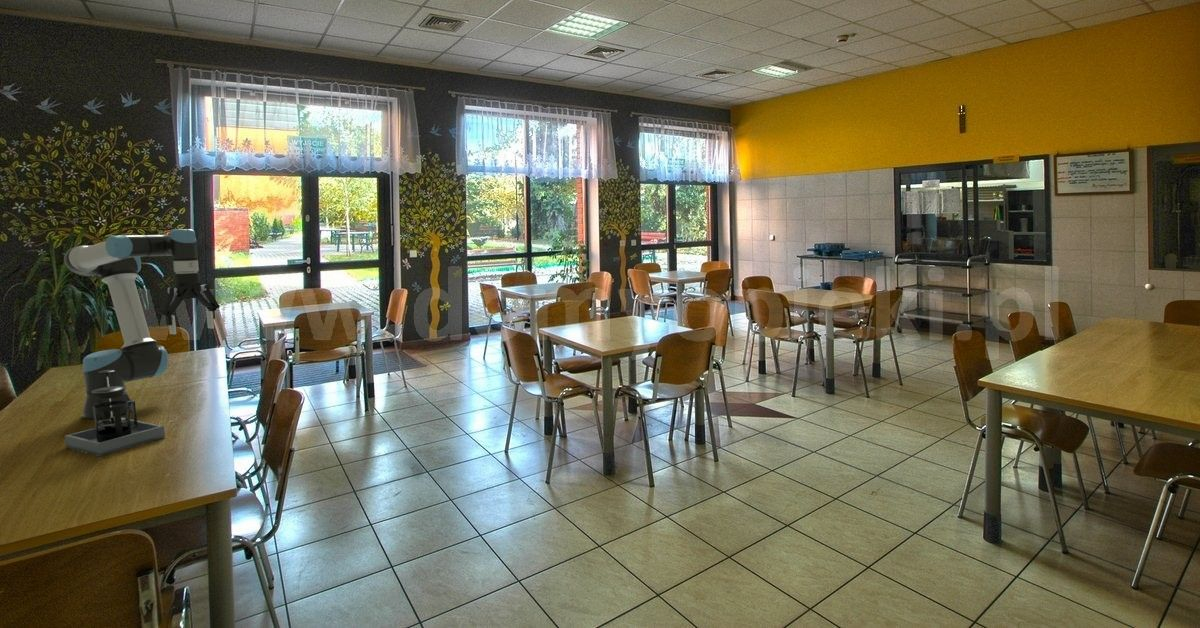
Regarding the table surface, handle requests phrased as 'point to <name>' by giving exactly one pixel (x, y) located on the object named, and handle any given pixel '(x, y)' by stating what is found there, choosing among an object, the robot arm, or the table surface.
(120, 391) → the french press
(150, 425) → the tray
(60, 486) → the table surface
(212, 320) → the robot arm
